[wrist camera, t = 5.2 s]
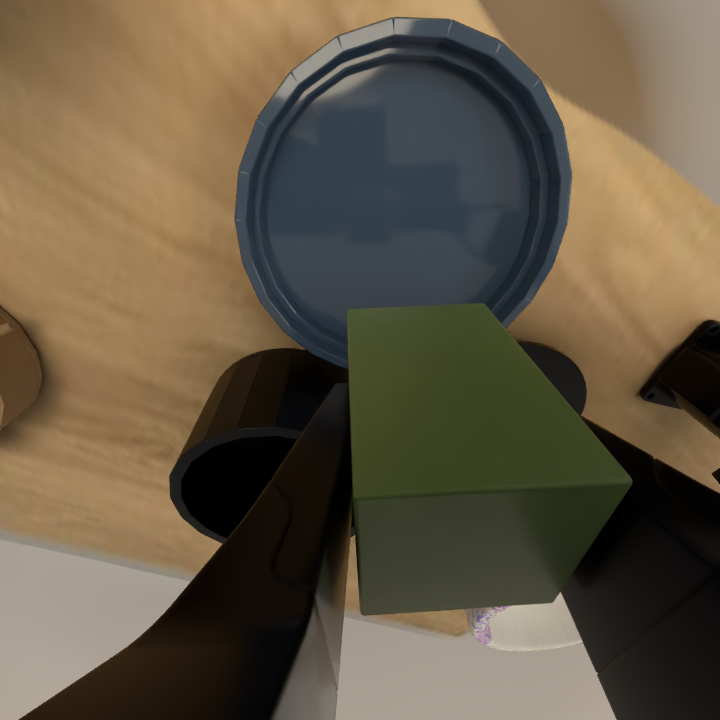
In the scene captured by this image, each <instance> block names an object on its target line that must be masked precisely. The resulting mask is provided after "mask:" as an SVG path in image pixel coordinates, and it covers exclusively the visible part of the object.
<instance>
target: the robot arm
mask: <svg viewBox="0 0 720 720" xmlns="http://www.w3.org/2000/svg"><path fill="white" fill-rule="evenodd" d="M639 395H640V397H641V398H642V399H643V400H645V401H647V402H652V403H656V404H660V405H665V406H669V407H674V408H678V409H682V410H685V411H686V412H687V413H688V414H690V415H691V416H692V417H693V418H694V419H696V420H697V421H698V422H699V423H701V424H702V425H703V426H704V427H706V428H707V429H708V430H709V431H711V432H712V433H713V434H714V435H716V436H717V437H718V438H719V439H720V322H719V321H715V320H711V321H708V322H706V323H705V324H703V325H702V326H701V327H700V328H699V329H698V331H697V332H696V333H695V334H694V335H693V336H692V337H691V338H690V339H689V340H688V341H687V342H686V343H685V345H684V346H683V347H682V348H681V349H680V350H679V351H678V352H677V353H676V354H675V355H674V356H673V357H672V359H671V360H670V361H669V362H668V363H667V364H666V365H665V366H664V367H663V368H662V369H661V370H660V371H659V372H658V374H657V375H656V376H655V377H654V378H653V379H652V380H651V381H650V382H649V383H648V384H647V385H646V386H645V388H644V389H643V390H642V391H641V392H640V394H639ZM577 414H578V413H577ZM578 415H579V417H580V418H581V419H582V420H583V421H584V423H585V424H586V425H587V426H588V427H589V429H590V430H591V431H592V432H593V433H594V434H595V436H596V437H597V438H598V439H599V440H600V442H601V443H602V444H603V445H604V446H605V448H606V449H607V450H608V451H609V452H610V453H611V455H612V456H613V457H614V458H615V459H616V461H617V462H618V463H619V464H620V465H621V467H622V468H623V469H624V470H625V471H626V472H627V474H628V475H629V476H630V477H631V479H632V485H631V486H630V488H629V489H628V491H627V492H626V494H625V495H624V497H623V498H622V500H621V501H620V503H619V505H618V506H617V508H616V509H615V511H614V512H613V514H612V515H611V517H610V518H609V520H608V521H607V523H606V524H605V526H604V527H603V529H602V530H601V532H600V533H599V535H598V536H597V538H596V539H595V541H594V542H593V544H592V545H591V547H590V548H589V550H588V551H587V553H586V554H585V556H584V557H583V559H582V560H581V562H580V563H579V565H578V566H577V568H576V569H575V571H574V572H573V574H572V575H571V577H570V578H569V580H568V581H567V583H566V584H565V586H564V587H563V589H562V590H561V594H562V596H563V598H564V601H565V603H566V605H567V608H568V610H569V612H570V614H571V617H572V619H573V621H574V623H575V626H576V628H577V630H578V632H579V635H580V637H581V639H582V642H583V644H584V646H585V648H586V650H587V653H588V655H589V657H590V660H591V662H592V664H593V666H594V669H595V671H596V672H597V673H598V674H597V676H598V678H599V681H600V683H601V685H602V688H603V690H604V692H605V694H606V697H607V699H608V701H609V703H610V706H611V708H612V710H613V712H614V715H615V717H616V719H617V720H720V493H718V492H716V491H714V490H712V489H710V488H709V487H707V486H705V485H703V484H701V483H700V482H698V481H696V480H694V479H692V478H691V477H689V476H687V475H685V474H683V473H681V472H680V471H678V470H676V469H674V468H673V467H671V466H669V465H667V464H666V463H664V462H662V461H660V460H659V459H654V458H653V456H651V455H650V454H648V453H646V452H644V451H643V450H641V449H639V448H637V447H636V446H634V445H632V444H630V443H629V442H627V441H625V440H623V439H622V438H620V437H618V436H616V435H615V434H613V433H611V432H609V431H608V430H606V429H604V428H602V427H601V426H599V425H597V424H595V423H594V422H592V421H590V420H588V419H587V418H585V417H583V416H581V415H580V414H578ZM712 475H713V477H714V478H715V479H716V480H717V481H718V483H719V484H720V468H718V469H717V470H716V471H714V472H713V473H712ZM352 510H353V486H352V456H351V427H350V397H349V383H337V384H335V385H334V386H333V388H332V389H331V391H330V392H329V394H328V395H327V397H326V398H325V400H324V401H323V403H322V404H321V406H320V407H319V409H318V410H317V412H316V413H315V415H314V416H313V418H312V419H311V421H310V422H309V424H308V425H307V427H306V428H305V430H304V431H303V432H302V434H301V435H300V437H299V438H298V440H297V441H296V443H295V444H294V446H293V447H292V449H291V450H290V452H289V453H288V455H287V456H286V458H285V459H284V461H283V462H282V464H281V465H280V467H279V468H278V470H277V471H276V473H275V474H274V476H273V477H272V481H269V483H268V484H267V486H266V487H265V489H264V490H263V492H262V493H261V495H260V496H259V498H258V499H257V500H256V502H255V503H254V505H253V506H252V507H251V509H250V510H249V512H248V513H247V514H246V516H245V517H244V518H243V520H242V521H241V522H240V523H239V525H238V526H237V527H236V528H235V529H234V531H233V532H232V533H231V534H230V536H229V537H228V538H227V539H226V541H225V542H224V543H223V544H222V545H221V547H220V548H219V549H218V550H217V551H216V553H215V554H214V555H213V556H212V557H211V559H210V560H209V561H208V562H207V563H206V564H205V566H204V567H203V568H202V569H201V570H200V572H199V573H198V574H197V575H196V576H195V578H194V579H193V580H192V581H191V582H190V584H189V585H188V586H187V587H186V588H185V589H184V591H183V592H182V593H181V594H180V595H179V597H178V598H177V599H176V600H175V601H174V603H173V604H172V605H171V606H170V607H169V608H168V609H167V611H166V612H165V613H164V614H163V615H162V616H161V617H160V618H159V619H158V620H157V621H156V622H155V623H154V624H153V625H152V626H151V627H150V628H149V629H148V630H147V631H146V632H144V633H143V634H142V635H141V636H140V637H139V638H138V639H136V640H135V641H134V642H133V643H131V644H130V645H129V646H128V647H126V648H125V649H123V650H122V651H120V652H119V653H118V654H116V655H115V656H113V657H112V658H110V659H109V660H107V661H106V662H104V663H103V664H101V665H100V666H98V667H97V668H95V669H94V670H92V671H91V672H89V673H88V674H86V675H85V676H83V677H82V678H80V679H79V680H77V681H76V682H74V683H73V684H71V685H70V686H68V687H67V688H65V689H64V690H62V691H61V692H59V693H58V694H56V695H55V696H53V697H52V698H50V699H49V700H47V701H46V702H44V703H43V704H41V705H40V706H38V707H37V708H35V709H34V710H32V711H31V712H30V713H28V714H26V715H25V716H23V717H22V718H20V719H19V720H335V717H336V716H335V715H336V704H337V690H338V679H339V667H340V655H341V643H342V631H343V619H344V607H345V595H346V583H347V570H348V558H349V546H350V534H351V522H352Z"/></svg>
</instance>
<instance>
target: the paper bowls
mask: <svg viewBox="0 0 720 720" xmlns="http://www.w3.org/2000/svg"><path fill="white" fill-rule="evenodd" d="M465 612H466V614H467V619H468V623H469V627H470V629H471V632H472V634H473V636H474V637H475V638H476V640H477V641H478V642H480V643H481V644H483V645H485V646H488V647H492V648H495V649H499V650H506V651H538V650H546V649H553V648H559V647H565V646H570V645H575V644H579V643H583V642H582V639H581V637H580V635H579V632H578V630H577V628H576V626H575V623H574V621H573V619H572V617H571V614H570V612H569V610H568V608H567V605H566V603H565V601H564V598H563V596H562V594H561V592H560V593H559V595H558V596H557V598H556V599H555V601H554V602H553V603H546V604H531V605H516V606H501V607H486V608H471V609H465Z"/></svg>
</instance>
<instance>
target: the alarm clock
mask: <svg viewBox="0 0 720 720" xmlns="http://www.w3.org/2000/svg"><path fill="white" fill-rule="evenodd" d="M42 377H43V375H42V371H41V367H40V363H39V359H38V355H37V352H36V350H35V348H34V347H33V345H32V344H31V342H30V341H29V339H28V337H27V336H26V334H25V333H24V331H23V330H22V328H21V326H20V325H19V324H18V323H17V322H16V321H15V320H14V319H12V318H11V317H10V316H9V315H8V314H7V313H6V312H5V311H4V310H3V309H2V308H1V307H0V430H1V429H2V428H3V427H5V426H6V425H7V424H8V423H9V422H11V421H12V420H13V419H14V418H15V417H17V416H18V415H20V414H22V413H23V412H24V411H25V410H26V409H27V408H28V407H29V406H30V405H31V404H32V402H33V401H34V400H35V399H36V398H37V397H38V395H39V390H40V386H41V381H42Z"/></svg>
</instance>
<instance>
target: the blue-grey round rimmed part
mask: <svg viewBox="0 0 720 720" xmlns="http://www.w3.org/2000/svg"><path fill="white" fill-rule="evenodd" d="M571 174H572V170H571V164H570V159H569V153H568V147H567V141H566V136H565V130H564V126H563V123H562V121H561V119H560V117H559V115H558V113H557V111H556V109H555V107H554V105H553V103H552V101H551V99H550V97H549V95H548V93H547V91H546V89H545V87H544V85H543V83H542V81H541V80H540V79H539V77H538V76H537V75H536V74H535V73H534V72H533V71H532V70H531V69H530V68H529V67H528V66H527V65H526V64H525V63H524V62H523V61H522V60H521V59H520V58H519V57H518V56H517V55H516V54H515V53H514V52H513V51H511V50H510V49H509V48H508V47H507V46H506V45H505V44H504V43H503V42H501V41H500V40H498V39H496V38H494V37H492V36H489V35H487V34H485V33H482V32H480V31H478V30H475V29H473V28H471V27H468V26H466V25H464V24H461V23H459V22H457V21H454V20H450V19H441V18H413V17H394V18H392V17H391V18H388V19H385V20H382V21H379V22H376V23H373V24H370V25H367V26H364V27H361V28H358V29H355V30H352V31H349V32H346V33H343V34H340V35H338V37H337V36H336V37H334V38H333V39H332V40H331V41H329V42H328V43H327V44H325V45H324V46H323V47H321V48H320V49H319V50H317V51H316V52H315V53H313V54H312V55H311V56H309V57H308V58H307V59H306V60H304V61H303V62H302V63H300V64H299V65H298V66H296V67H295V68H294V69H292V70H291V72H290V73H289V74H288V75H287V76H286V78H285V79H284V81H283V82H282V83H281V85H280V86H279V88H278V89H277V90H276V92H275V93H274V95H273V96H272V97H271V99H270V100H269V102H268V103H267V104H266V106H265V107H264V109H263V110H262V111H261V113H260V114H259V116H258V119H256V121H255V124H254V127H253V130H252V133H251V135H250V138H249V141H248V144H247V147H246V149H245V152H244V155H243V158H242V161H241V163H240V166H239V170H238V182H237V194H236V207H235V225H236V230H237V236H238V242H239V247H240V253H241V259H242V263H243V266H244V268H245V270H246V273H247V275H248V277H249V279H250V281H251V284H252V286H253V288H254V290H255V292H256V295H257V297H258V299H259V301H260V303H261V304H262V305H263V306H264V308H265V309H266V310H267V311H268V313H269V314H270V315H271V317H272V318H273V319H274V320H275V322H276V323H277V324H278V325H279V327H280V328H281V329H282V330H283V331H284V332H285V333H286V334H287V335H288V336H290V337H291V338H292V339H294V340H295V341H296V342H297V343H299V344H300V345H301V346H302V347H304V348H305V349H306V350H308V351H309V352H310V353H312V354H314V355H316V356H318V357H320V358H323V359H325V360H327V361H329V362H331V363H334V364H336V365H338V366H340V367H343V368H347V369H349V367H348V337H347V310H348V309H363V308H385V307H407V306H430V305H452V304H475V303H483V304H485V305H486V306H487V307H488V309H489V310H490V311H491V312H492V313H493V315H494V316H495V317H496V318H497V319H498V320H499V322H500V323H501V324H502V325H503V326H504V328H505V329H506V328H507V327H508V326H509V325H510V324H511V323H512V322H513V321H514V320H515V319H516V317H517V316H518V315H519V314H520V313H521V312H522V311H523V310H524V309H525V308H526V307H527V306H528V304H529V303H530V302H531V300H533V298H534V297H535V295H536V293H537V292H538V290H539V288H540V287H541V285H542V283H543V282H544V280H545V278H546V277H547V275H548V273H549V272H550V270H551V268H552V267H553V264H554V262H555V259H556V256H557V253H558V250H559V247H560V244H561V241H562V238H563V235H564V232H565V229H566V226H567V223H568V222H567V221H568V216H569V205H570V194H571V183H572V175H571Z"/></svg>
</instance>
